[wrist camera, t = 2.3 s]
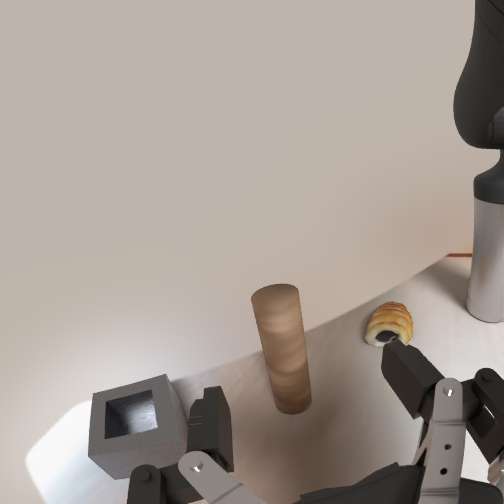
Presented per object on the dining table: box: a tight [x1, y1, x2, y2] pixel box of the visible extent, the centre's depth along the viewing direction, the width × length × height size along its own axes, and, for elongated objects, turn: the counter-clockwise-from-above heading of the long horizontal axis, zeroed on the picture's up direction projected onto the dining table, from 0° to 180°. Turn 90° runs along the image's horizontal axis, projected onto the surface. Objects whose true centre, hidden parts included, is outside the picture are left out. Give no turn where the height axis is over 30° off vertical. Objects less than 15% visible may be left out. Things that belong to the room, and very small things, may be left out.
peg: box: [251, 284, 312, 414], centre depth 25 cm, size 4×4×14 cm
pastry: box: [364, 302, 413, 347], centre depth 34 cm, size 9×7×4 cm
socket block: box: [88, 374, 188, 480], centre depth 23 cm, size 10×10×5 cm
